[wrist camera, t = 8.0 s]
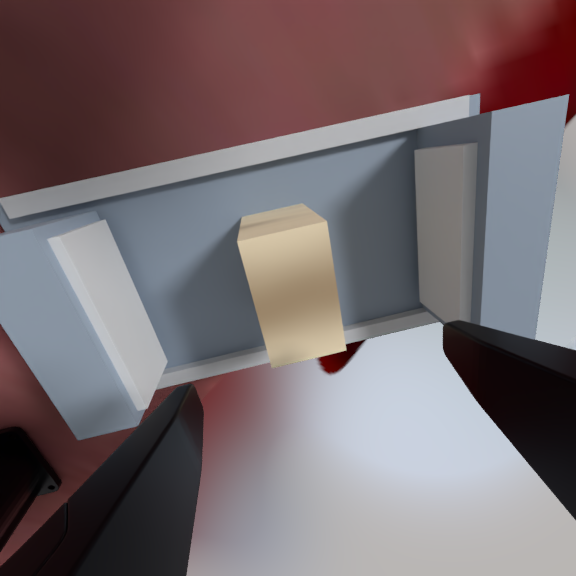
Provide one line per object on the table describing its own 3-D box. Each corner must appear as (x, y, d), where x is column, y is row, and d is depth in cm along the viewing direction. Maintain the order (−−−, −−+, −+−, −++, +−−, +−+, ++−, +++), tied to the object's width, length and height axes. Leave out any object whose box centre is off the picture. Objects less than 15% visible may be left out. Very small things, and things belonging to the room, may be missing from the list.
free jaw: (172, 363, 20) (148, 423, 15) (119, 375, 20) (78, 440, 15) (105, 208, 16) (44, 225, 11) (38, 223, 16) (-51, 247, 11)
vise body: (462, 302, 22) (541, 354, 16) (107, 387, 21) (50, 474, 15) (467, 97, 17) (586, 59, 11) (2, 199, 16) (-144, 219, 10)
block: (319, 297, 19) (346, 350, 14) (266, 310, 19) (271, 368, 14) (302, 203, 17) (326, 221, 12) (241, 216, 17) (236, 241, 11)
